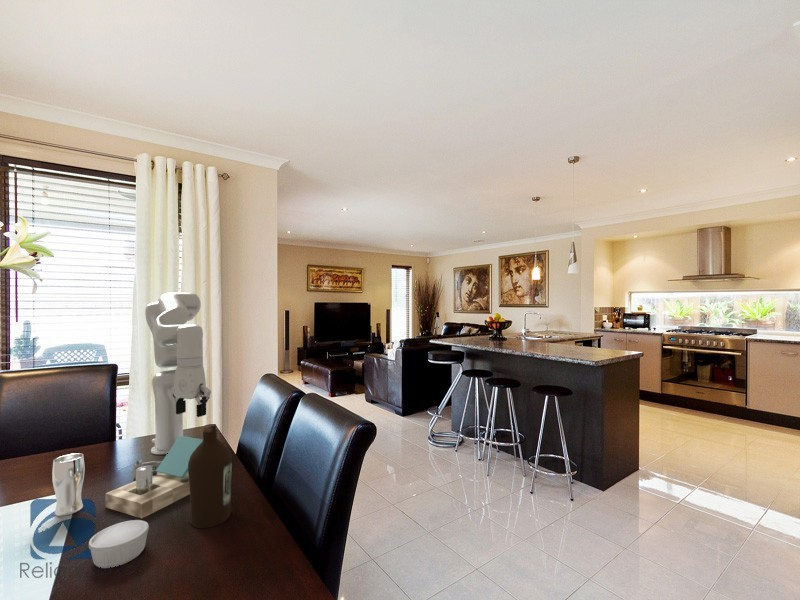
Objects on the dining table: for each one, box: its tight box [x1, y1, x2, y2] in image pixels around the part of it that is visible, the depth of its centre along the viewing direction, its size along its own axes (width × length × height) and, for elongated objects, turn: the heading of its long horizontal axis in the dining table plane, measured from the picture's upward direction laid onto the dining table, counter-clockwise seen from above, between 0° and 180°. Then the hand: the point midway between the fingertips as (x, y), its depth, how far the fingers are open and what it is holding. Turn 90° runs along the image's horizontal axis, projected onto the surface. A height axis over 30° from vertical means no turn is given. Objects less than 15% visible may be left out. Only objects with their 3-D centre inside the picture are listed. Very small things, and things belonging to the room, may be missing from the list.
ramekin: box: [88, 519, 150, 569], centre depth 89 cm, size 11×11×5 cm
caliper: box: [132, 459, 163, 481], centre depth 137 cm, size 20×1×6 cm, turn 148°
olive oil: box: [188, 423, 233, 529], centre depth 104 cm, size 11×11×25 cm
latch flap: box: [155, 435, 203, 478], centre depth 124 cm, size 12×12×1 cm
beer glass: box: [51, 452, 86, 517], centre depth 110 cm, size 7×7×15 cm
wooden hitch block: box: [105, 470, 190, 519], centre depth 118 cm, size 16×22×5 cm
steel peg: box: [135, 466, 153, 495], centre depth 113 cm, size 4×4×10 cm
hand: (191, 414), depth 128 cm, fingers open, 9 cm apart
